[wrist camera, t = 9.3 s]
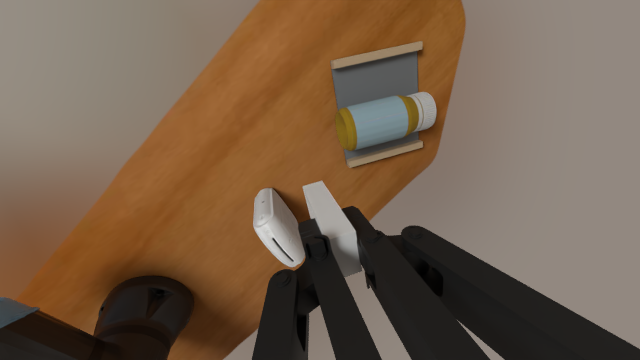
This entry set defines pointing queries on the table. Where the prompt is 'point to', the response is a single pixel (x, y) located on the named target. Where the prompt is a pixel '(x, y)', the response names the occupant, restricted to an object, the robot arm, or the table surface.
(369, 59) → the grey tray
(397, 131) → the bottle
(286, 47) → the table surface
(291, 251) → the photo printer
